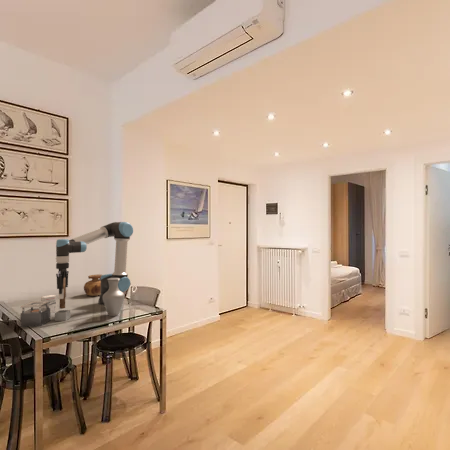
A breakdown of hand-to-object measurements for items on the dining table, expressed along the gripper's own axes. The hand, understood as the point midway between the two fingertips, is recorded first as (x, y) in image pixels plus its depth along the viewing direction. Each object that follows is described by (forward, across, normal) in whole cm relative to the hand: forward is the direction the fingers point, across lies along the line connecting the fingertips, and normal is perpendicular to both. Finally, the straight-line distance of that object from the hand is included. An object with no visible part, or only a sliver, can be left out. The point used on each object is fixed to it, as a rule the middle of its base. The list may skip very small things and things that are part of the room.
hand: (62, 297), depth 208 cm
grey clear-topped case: (+14, +8, -13) cm, 21 cm away
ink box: (+14, -17, -17) cm, 28 cm away
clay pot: (+14, -74, -3) cm, 76 cm away
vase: (+14, -7, +31) cm, 35 cm away
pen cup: (+14, 0, 0) cm, 14 cm away
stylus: (+7, 0, 0) cm, 7 cm away
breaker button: (+11, +8, -13) cm, 19 cm away
